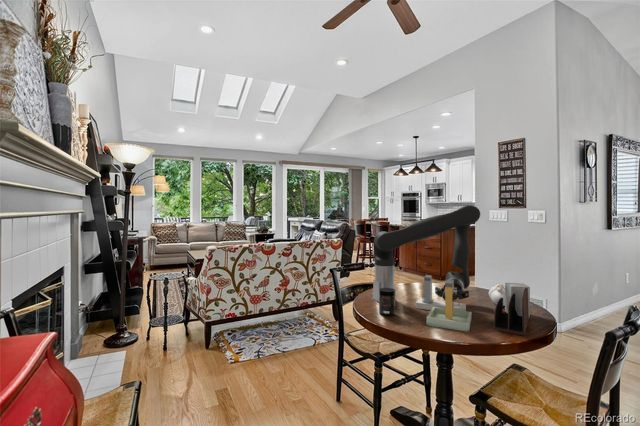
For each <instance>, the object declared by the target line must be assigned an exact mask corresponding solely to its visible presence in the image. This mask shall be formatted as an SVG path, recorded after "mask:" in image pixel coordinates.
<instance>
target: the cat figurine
mask: <svg viewBox="0 0 640 426" xmlns="http://www.w3.org/2000/svg"><path fill="white" fill-rule="evenodd" d="M488 297H489V299H490V300H491V301H492V303H493V304H494V305H495V306H496V305H497V303H498V301H499V299H500V298H501V297H502V298H503V307H505V286H504V285H503V284H499V283H498V284H496V285H492V287H491V288H490V289H489V291H488Z"/></svg>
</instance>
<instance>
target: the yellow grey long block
mask: <svg viewBox="0 0 640 426" xmlns="http://www.w3.org/2000/svg"><path fill="white" fill-rule="evenodd" d="M444 285H445V300H444V301H445V318H447V319H452V318H453V315H454V303H455V302H454V301H455V300H454V301H452V295H453V293H454V280H446V279H445V283H444Z"/></svg>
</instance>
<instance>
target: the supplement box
mask: <svg viewBox="0 0 640 426" xmlns="http://www.w3.org/2000/svg"><path fill="white" fill-rule="evenodd" d="M504 284H505V285H504V288H505V306H504V312H506V314H508V304H509V300H510V298H511V296H512V294H513V293H515V310H516V312H517V314H518V316H522V296H523V292H524V289H525V288H528V314H529V318H530V316H531V305H530V304H531V288H530V286H529V285H527V284H525V283H523V282H505V283H504Z"/></svg>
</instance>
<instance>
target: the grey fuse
mask: <svg viewBox="0 0 640 426" xmlns="http://www.w3.org/2000/svg"><path fill="white" fill-rule="evenodd" d="M423 283H424V284H423V285H424V286H423V298H424V303H428V304H431V301H432V300H433V275H430V274H425V275H424V279H423Z"/></svg>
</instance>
